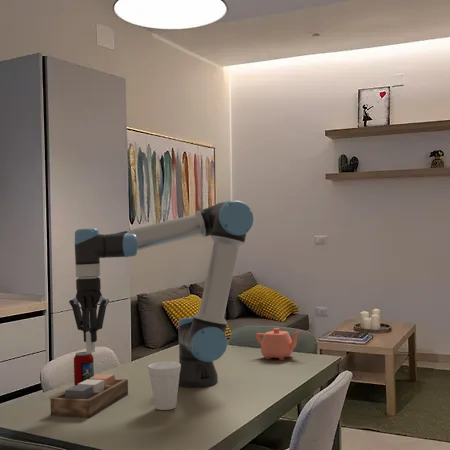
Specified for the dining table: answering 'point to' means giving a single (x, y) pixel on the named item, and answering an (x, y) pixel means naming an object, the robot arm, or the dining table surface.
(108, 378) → the salmon pink square block
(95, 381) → the white square block
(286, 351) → the teapot
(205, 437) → the dining table surface
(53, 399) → the wooden tray
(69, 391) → the grey square block
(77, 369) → the beverage can
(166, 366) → the cup
